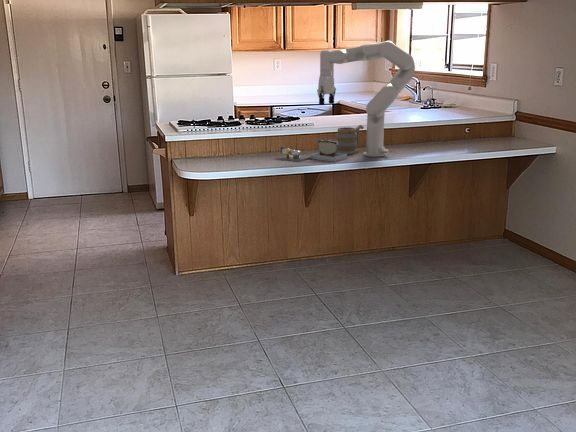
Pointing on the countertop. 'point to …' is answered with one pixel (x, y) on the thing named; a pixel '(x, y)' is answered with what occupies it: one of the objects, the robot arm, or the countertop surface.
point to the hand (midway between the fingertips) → (326, 104)
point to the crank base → (297, 159)
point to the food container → (327, 147)
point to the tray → (329, 157)
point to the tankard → (348, 140)
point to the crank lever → (290, 152)
